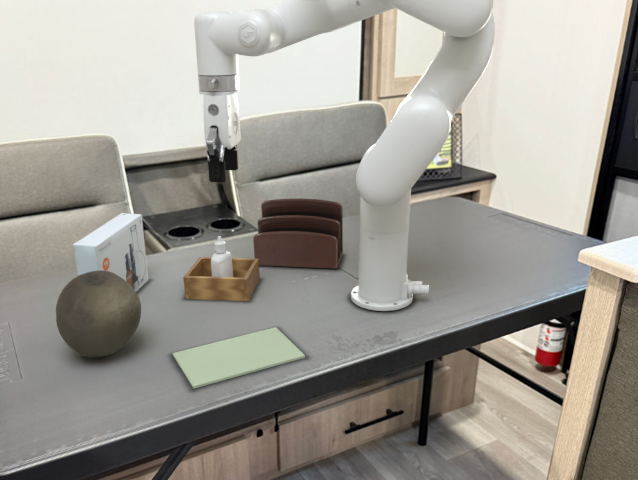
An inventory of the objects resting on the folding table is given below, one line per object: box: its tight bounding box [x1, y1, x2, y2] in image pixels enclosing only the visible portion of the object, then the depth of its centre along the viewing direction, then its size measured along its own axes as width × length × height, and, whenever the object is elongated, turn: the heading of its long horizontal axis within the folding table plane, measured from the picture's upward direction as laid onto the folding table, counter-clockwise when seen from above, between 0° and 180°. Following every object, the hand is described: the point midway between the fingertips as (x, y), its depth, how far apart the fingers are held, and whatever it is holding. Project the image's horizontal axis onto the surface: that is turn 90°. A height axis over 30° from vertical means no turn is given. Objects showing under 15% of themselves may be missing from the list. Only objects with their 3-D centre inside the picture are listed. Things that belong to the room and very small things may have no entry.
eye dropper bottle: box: [211, 235, 233, 277], centre depth 129 cm, size 4×6×12 cm
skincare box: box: [72, 212, 150, 293], centre depth 125 cm, size 21×6×16 cm, turn 168°
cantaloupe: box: [55, 270, 142, 358], centre depth 105 cm, size 14×14×15 cm
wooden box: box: [182, 256, 261, 302], centre depth 130 cm, size 14×12×5 cm
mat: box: [172, 326, 306, 390], centre depth 105 cm, size 20×12×1 cm, turn 116°
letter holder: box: [252, 198, 344, 270], centre depth 142 cm, size 10×20×14 cm, turn 78°
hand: (224, 175), depth 120 cm, fingers open, 9 cm apart
